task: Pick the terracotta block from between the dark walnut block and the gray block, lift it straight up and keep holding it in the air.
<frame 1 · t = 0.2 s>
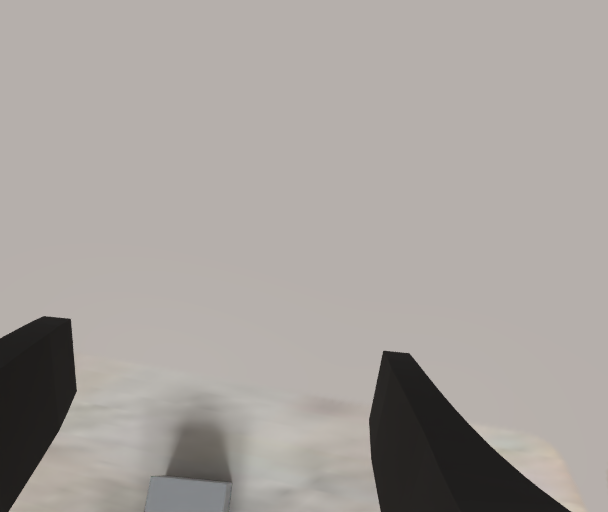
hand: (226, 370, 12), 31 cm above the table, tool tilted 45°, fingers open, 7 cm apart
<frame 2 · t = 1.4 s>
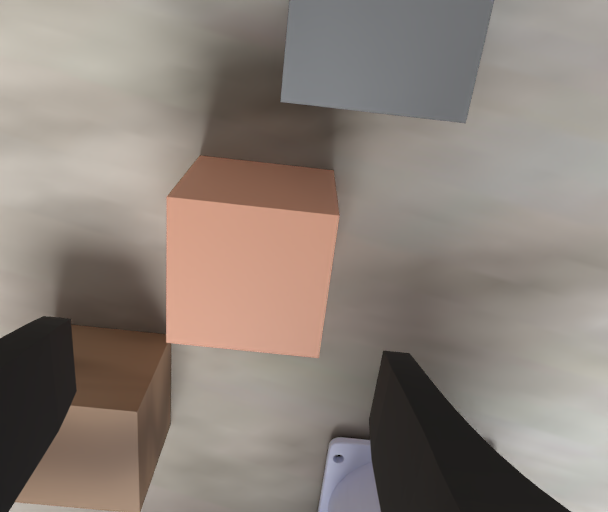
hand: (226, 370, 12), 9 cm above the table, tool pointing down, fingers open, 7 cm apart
terracotta block: (262, 224, 21), on the table
gray block: (370, 11, 18), on the table
walnut block: (115, 374, 24), on the table
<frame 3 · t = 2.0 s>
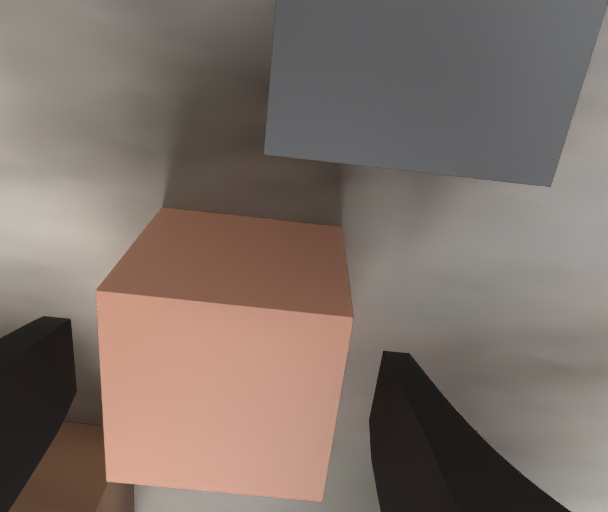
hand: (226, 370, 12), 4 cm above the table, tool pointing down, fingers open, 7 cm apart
terracotta block: (246, 294, 16), on the table
gray block: (394, 13, 13), on the table
walnut block: (63, 474, 19), on the table
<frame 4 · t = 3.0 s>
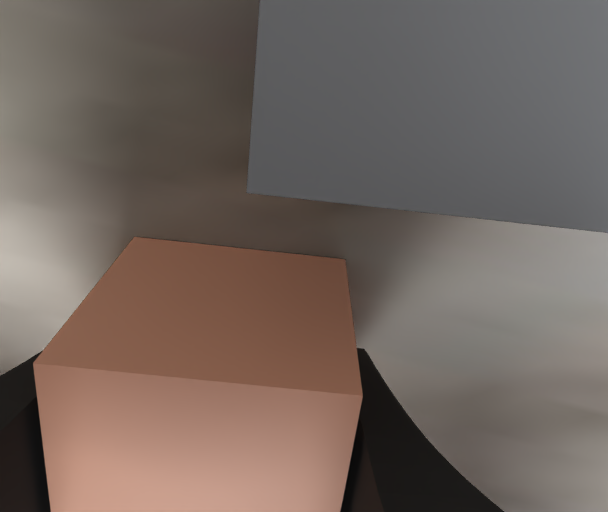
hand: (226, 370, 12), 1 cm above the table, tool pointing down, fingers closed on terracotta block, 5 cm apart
terracotta block: (234, 337, 14), on the table, touching gripper
gray block: (409, 9, 11), on the table
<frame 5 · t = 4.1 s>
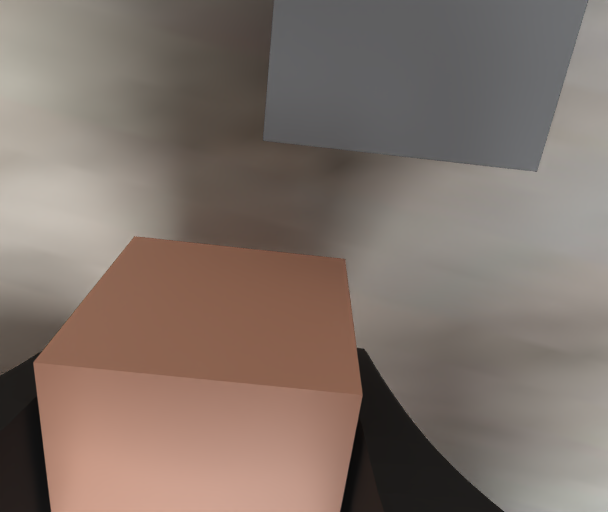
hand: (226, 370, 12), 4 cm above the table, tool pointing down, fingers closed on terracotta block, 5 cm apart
terracotta block: (234, 336, 14), point 3 cm above the table, touching gripper
gray block: (389, 6, 13), on the table
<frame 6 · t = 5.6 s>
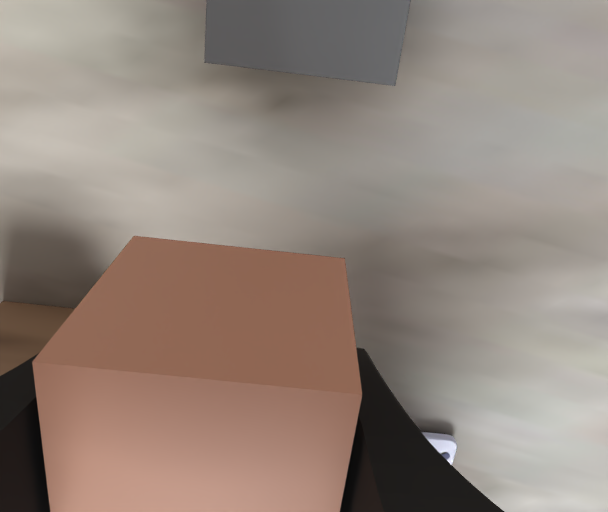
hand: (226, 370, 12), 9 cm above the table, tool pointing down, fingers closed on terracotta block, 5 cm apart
terracotta block: (234, 336, 14), point 8 cm above the table, touching gripper
walnut block: (67, 354, 24), on the table
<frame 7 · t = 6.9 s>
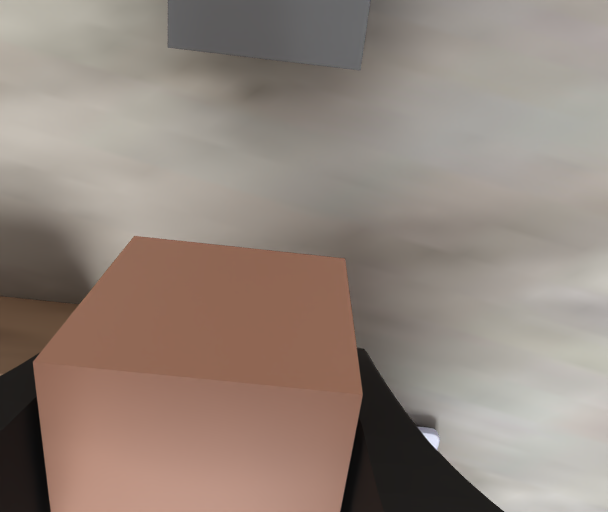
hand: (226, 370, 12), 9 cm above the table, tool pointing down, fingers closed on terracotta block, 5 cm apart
terracotta block: (234, 336, 14), point 8 cm above the table, touching gripper
walnut block: (47, 348, 24), on the table
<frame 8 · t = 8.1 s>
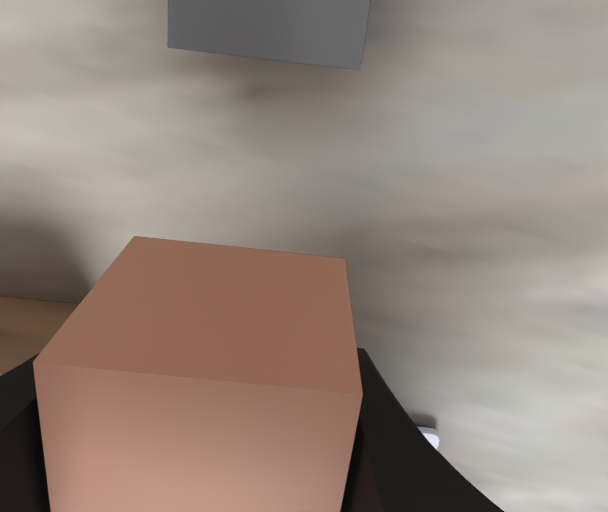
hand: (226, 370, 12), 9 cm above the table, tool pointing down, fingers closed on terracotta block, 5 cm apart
terracotta block: (234, 336, 14), point 8 cm above the table, touching gripper
walnut block: (47, 348, 24), on the table
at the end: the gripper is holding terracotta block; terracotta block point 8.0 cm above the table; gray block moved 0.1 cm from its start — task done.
